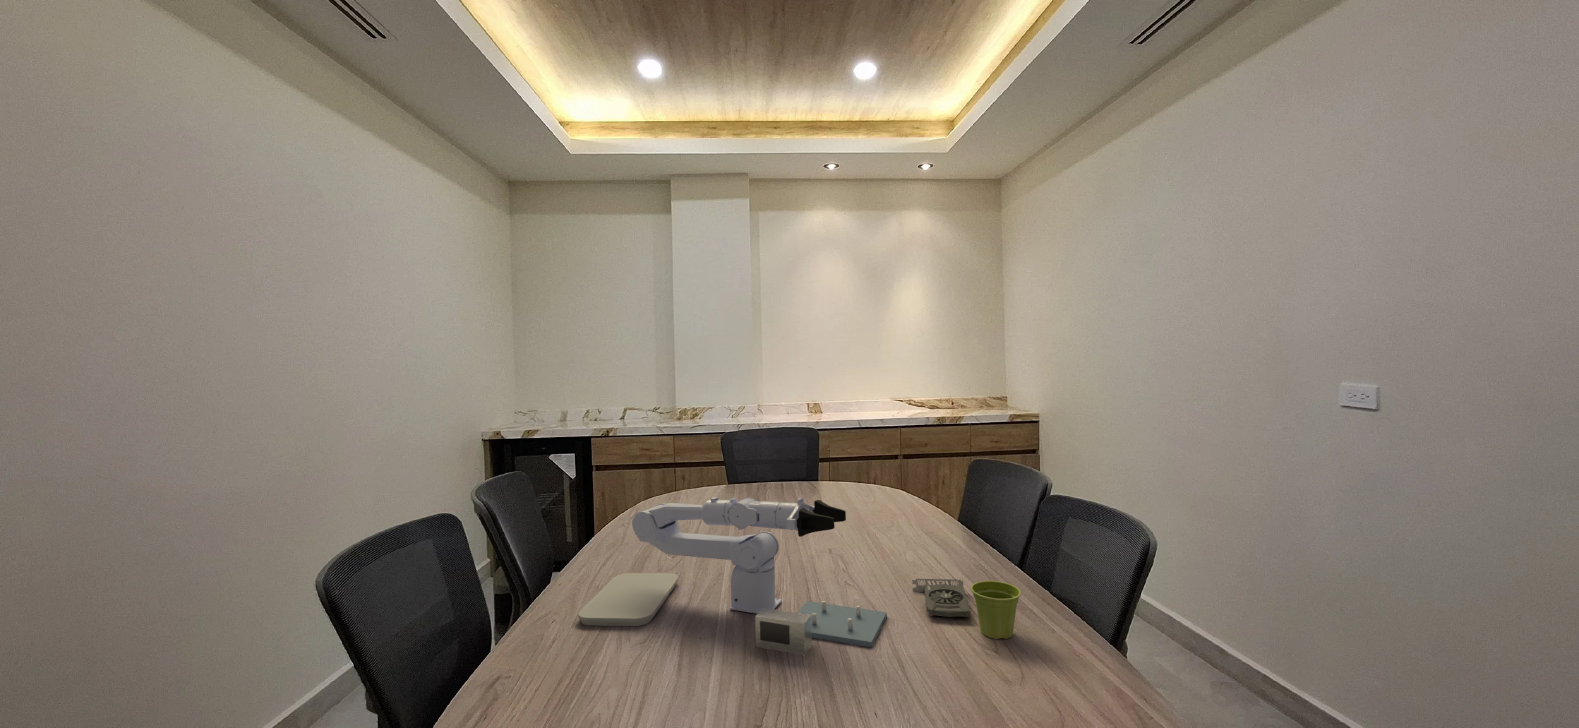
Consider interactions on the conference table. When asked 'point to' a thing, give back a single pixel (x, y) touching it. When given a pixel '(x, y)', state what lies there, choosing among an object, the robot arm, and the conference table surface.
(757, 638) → the beige rectangular block
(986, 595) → the plant pot
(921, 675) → the conference table surface
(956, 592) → the graphics card
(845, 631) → the tray
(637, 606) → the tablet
